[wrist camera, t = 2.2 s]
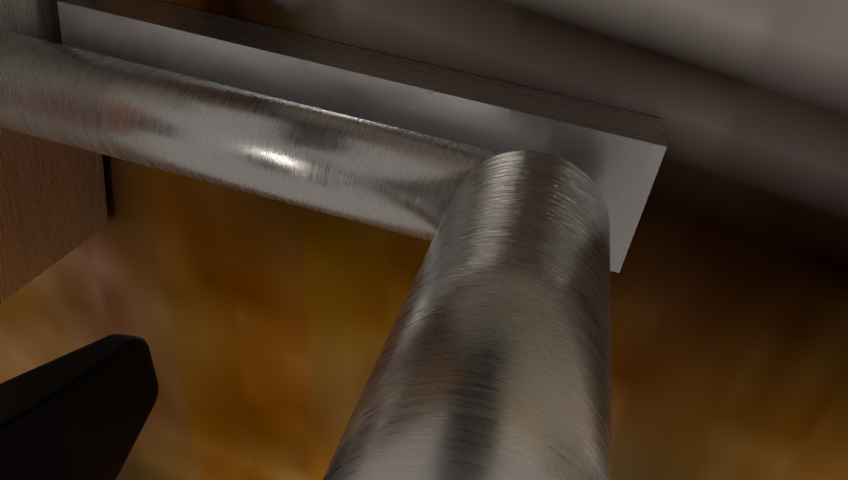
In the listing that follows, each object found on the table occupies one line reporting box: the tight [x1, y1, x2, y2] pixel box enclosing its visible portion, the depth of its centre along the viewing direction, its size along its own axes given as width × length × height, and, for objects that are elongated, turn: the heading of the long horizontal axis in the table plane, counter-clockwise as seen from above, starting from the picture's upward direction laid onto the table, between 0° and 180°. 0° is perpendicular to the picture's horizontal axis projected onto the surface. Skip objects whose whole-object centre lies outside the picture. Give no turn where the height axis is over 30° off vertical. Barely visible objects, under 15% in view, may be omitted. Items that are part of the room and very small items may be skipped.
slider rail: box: [57, 0, 667, 273], centre depth 15 cm, size 13×3×2 cm, turn 80°
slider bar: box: [0, 0, 612, 480], centre depth 10 cm, size 14×10×13 cm
